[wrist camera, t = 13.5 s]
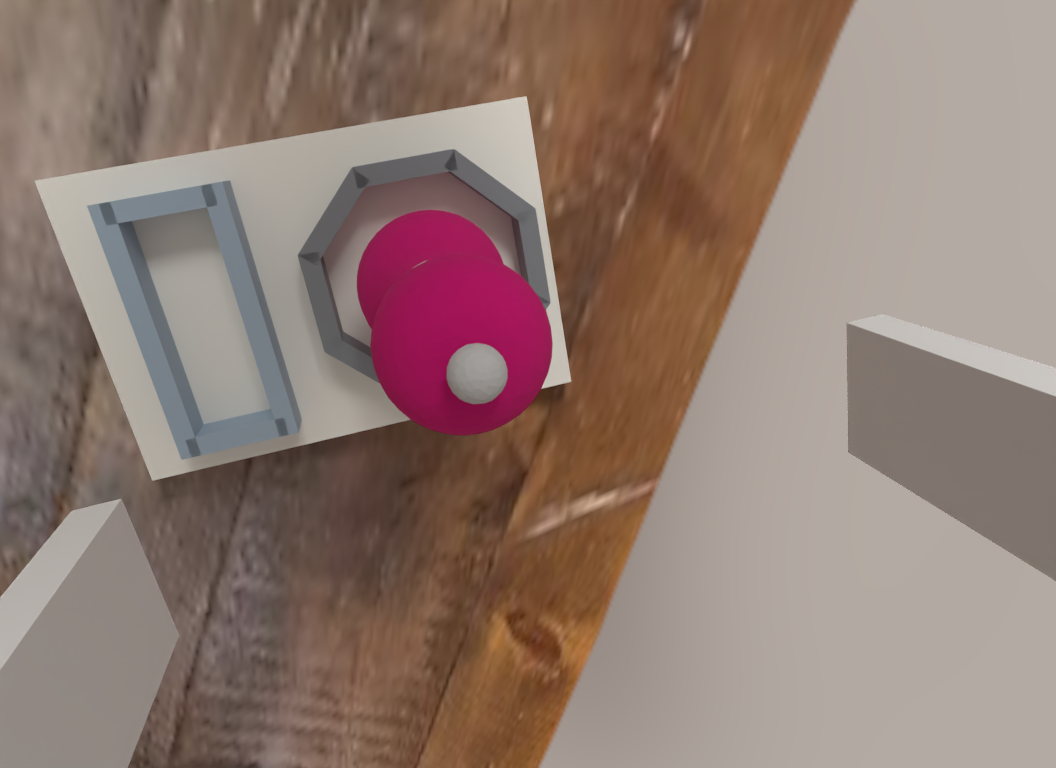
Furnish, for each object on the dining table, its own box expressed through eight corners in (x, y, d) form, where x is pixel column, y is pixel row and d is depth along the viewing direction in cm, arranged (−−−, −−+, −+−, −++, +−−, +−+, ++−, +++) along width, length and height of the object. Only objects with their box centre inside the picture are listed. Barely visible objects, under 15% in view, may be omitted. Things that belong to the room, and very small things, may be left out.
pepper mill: (471, 188, 37) (574, 218, 19) (506, 315, 40) (628, 454, 21) (338, 226, 36) (307, 297, 18) (383, 353, 39) (396, 533, 20)
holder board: (47, 179, 34) (14, 182, 31) (520, 98, 38) (535, 92, 35) (159, 469, 40) (141, 497, 36) (564, 374, 43) (580, 392, 40)
